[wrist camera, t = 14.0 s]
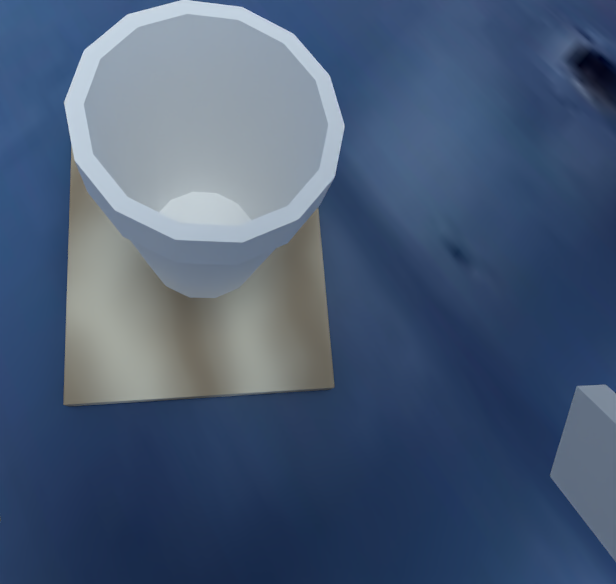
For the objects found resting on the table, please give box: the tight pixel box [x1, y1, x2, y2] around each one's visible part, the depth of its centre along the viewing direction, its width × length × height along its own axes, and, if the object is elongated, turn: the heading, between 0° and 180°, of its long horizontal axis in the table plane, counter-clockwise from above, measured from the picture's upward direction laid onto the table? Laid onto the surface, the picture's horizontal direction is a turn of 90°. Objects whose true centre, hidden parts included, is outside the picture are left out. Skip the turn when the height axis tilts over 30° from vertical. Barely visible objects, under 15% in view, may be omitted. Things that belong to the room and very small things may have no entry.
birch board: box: [63, 147, 335, 406], centre depth 32 cm, size 14×17×1 cm
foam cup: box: [64, 0, 345, 298], centre depth 25 cm, size 10×9×13 cm
